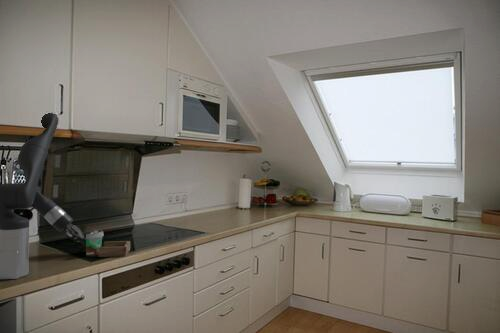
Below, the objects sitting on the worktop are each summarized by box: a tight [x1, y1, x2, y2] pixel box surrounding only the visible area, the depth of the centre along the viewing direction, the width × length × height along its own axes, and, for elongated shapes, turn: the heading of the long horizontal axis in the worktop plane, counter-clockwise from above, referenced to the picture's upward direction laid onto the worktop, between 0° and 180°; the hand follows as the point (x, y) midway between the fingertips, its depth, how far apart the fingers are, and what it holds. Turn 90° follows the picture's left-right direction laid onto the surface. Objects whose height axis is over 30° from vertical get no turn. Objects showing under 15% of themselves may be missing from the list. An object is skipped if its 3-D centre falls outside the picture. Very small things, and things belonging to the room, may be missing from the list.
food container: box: [85, 228, 105, 257], centre depth 157 cm, size 12×6×10 cm, turn 13°
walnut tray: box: [97, 240, 131, 258], centre depth 158 cm, size 12×12×4 cm
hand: (87, 245), depth 156 cm, fingers closed
